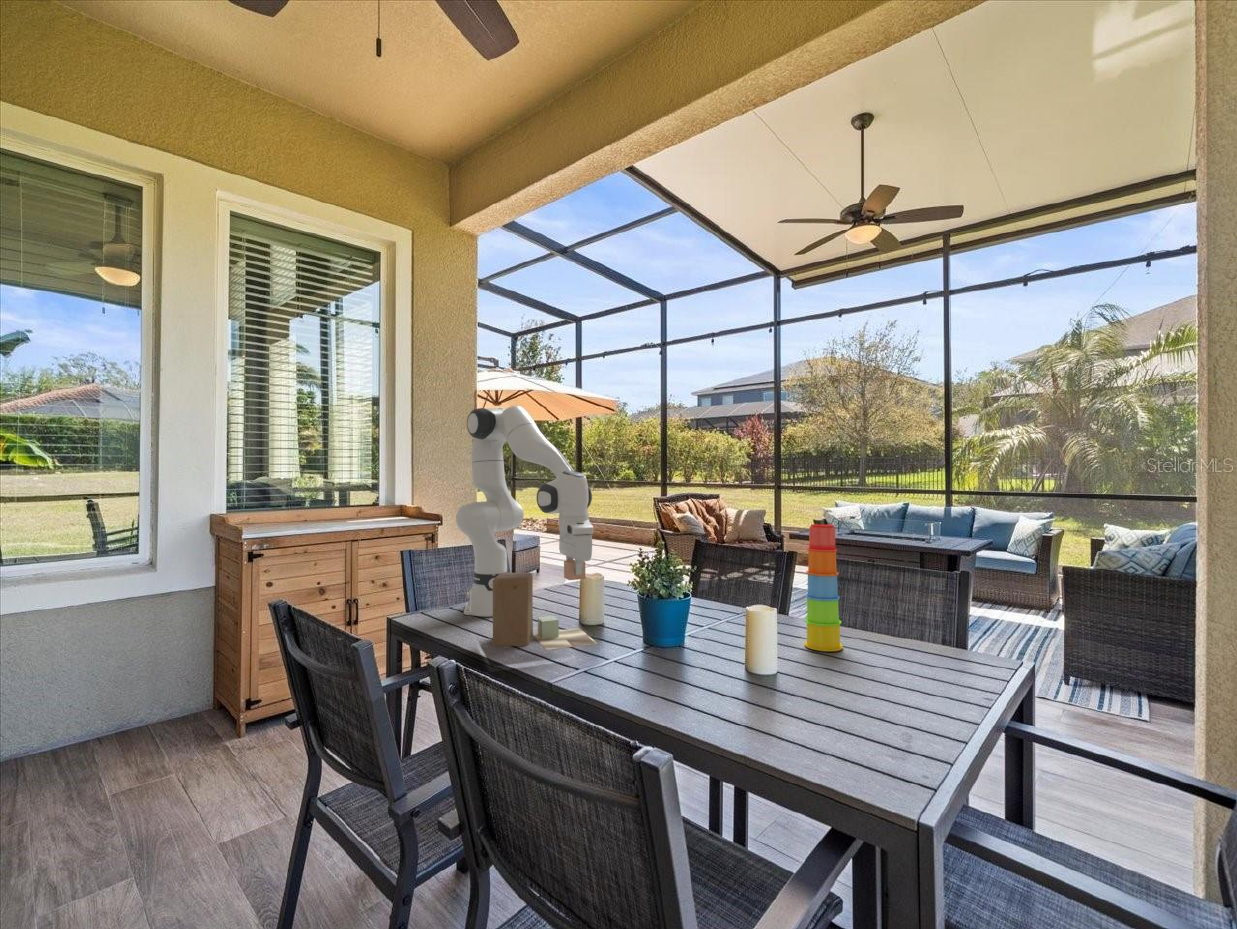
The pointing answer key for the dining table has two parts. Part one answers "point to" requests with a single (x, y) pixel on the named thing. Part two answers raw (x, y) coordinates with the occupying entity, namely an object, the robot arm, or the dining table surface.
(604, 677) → the dining table surface
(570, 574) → the terracotta block
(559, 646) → the birch base board
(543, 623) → the sage block
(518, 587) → the wooden block
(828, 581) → the stacking cups
